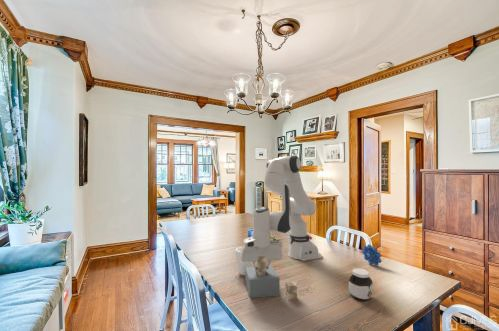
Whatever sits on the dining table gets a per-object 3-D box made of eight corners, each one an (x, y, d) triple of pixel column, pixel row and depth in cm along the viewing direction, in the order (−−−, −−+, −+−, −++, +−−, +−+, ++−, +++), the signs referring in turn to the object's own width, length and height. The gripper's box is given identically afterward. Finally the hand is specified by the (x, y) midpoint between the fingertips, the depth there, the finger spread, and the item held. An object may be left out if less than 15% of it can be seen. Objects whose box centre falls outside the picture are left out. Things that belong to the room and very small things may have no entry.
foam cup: (239, 277, 128) (239, 253, 128) (233, 270, 136) (233, 248, 136) (255, 273, 132) (255, 250, 133) (247, 267, 141) (247, 245, 141)
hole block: (271, 281, 123) (271, 265, 124) (279, 295, 110) (279, 278, 110) (245, 283, 121) (245, 267, 121) (249, 298, 107) (249, 280, 108)
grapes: (358, 263, 147) (358, 244, 147) (363, 260, 151) (363, 242, 151) (378, 269, 138) (378, 249, 138) (383, 266, 142) (383, 246, 142)
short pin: (293, 294, 111) (293, 281, 111) (297, 298, 107) (296, 285, 107) (285, 295, 110) (285, 282, 110) (288, 299, 106) (288, 286, 106)
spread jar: (359, 303, 103) (359, 277, 103) (340, 291, 113) (340, 267, 113) (378, 297, 108) (378, 272, 108) (358, 286, 118) (358, 263, 118)
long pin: (264, 281, 118) (264, 253, 118) (266, 285, 114) (266, 256, 114) (256, 282, 117) (256, 253, 117) (258, 286, 113) (258, 256, 113)
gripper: (280, 238, 121) (280, 265, 120) (240, 239, 117) (240, 267, 117) (283, 241, 114) (283, 270, 114) (241, 243, 111) (241, 273, 111)
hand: (261, 269), depth 116 cm, fingers closed on long pin, 4 cm apart
